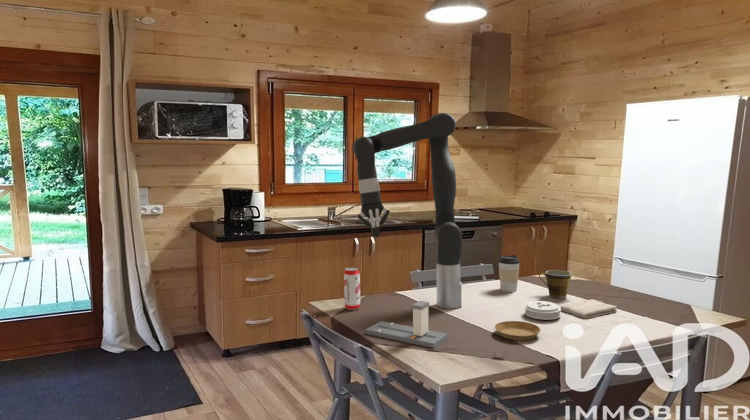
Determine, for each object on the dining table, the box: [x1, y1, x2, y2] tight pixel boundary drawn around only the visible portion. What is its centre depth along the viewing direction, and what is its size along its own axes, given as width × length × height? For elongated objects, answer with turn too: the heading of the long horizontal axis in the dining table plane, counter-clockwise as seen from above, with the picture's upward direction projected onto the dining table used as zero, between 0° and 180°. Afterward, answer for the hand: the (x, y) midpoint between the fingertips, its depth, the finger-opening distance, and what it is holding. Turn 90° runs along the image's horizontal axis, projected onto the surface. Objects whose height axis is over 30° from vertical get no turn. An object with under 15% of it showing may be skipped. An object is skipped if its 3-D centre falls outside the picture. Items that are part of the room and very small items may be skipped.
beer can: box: [343, 266, 361, 311], centre depth 206 cm, size 6×6×16 cm
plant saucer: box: [494, 320, 541, 342], centre depth 175 cm, size 15×15×3 cm
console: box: [365, 320, 449, 349], centre depth 176 cm, size 26×10×2 cm, turn 57°
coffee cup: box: [497, 254, 520, 293], centre depth 229 cm, size 9×9×15 cm
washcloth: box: [559, 298, 618, 319], centre depth 198 cm, size 12×18×3 cm, turn 117°
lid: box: [524, 300, 562, 321], centre depth 194 cm, size 13×13×5 cm
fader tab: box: [411, 300, 430, 336], centre depth 172 cm, size 3×5×10 cm, turn 147°
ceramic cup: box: [538, 269, 572, 300], centre depth 219 cm, size 13×10×10 cm
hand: (376, 237), depth 196 cm, fingers closed
